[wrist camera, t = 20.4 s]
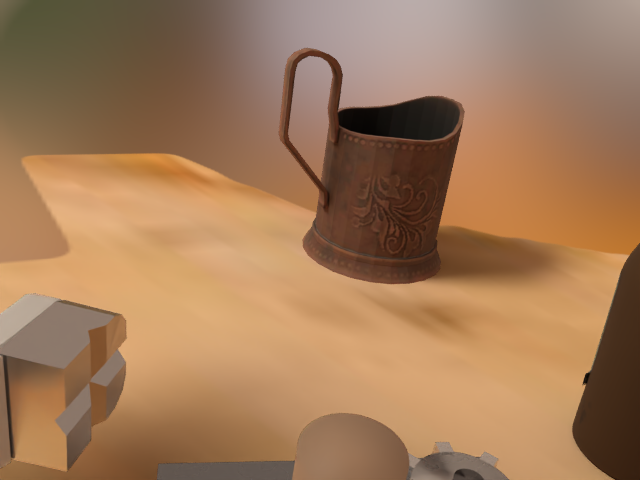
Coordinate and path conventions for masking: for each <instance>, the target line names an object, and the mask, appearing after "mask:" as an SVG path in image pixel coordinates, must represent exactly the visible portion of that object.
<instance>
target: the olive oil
mask: <svg viewBox="0 0 640 480" xmlns="http://www.w3.org/2000/svg"><path fill="white" fill-rule="evenodd" d="M584 383H585V384H586V387H585V390H584V393H583V396H582V399H581V402H580V404H579V407H578V410H577V413H576V416H575V419H574V423H573V428H572V431H573V436H574V439H575V441H576V443H577V445H578V447H579V448H580V450H581V451H582V452H583V454H584V455H585V456H586V457H587V458H588V459H589V460H590V461H591V462H592V463H593V464H594V465H596V466H597V467H598V468H599V469H601V470H602V471H603V472H605V473H606V474H608V475H610V476H611V477H613V478H615V479H617V480H640V243H639V245H638V246H637V247H636V248H635V249H634V251H633V252H632V253H631V254H630V256H629V257H628V259H627V260H626V262H625V264H624V266H623V269H622V270H621V273H620V277H619V280H618V283H617V287H616V290H615V293H614V297H613V300H612V303H611V307H610V310H609V313H608V316H607V320H606V323H605V326H604V329H603V333H602V336H601V339H600V342H599V345H598V349H597V352H596V355H595V358H594V361H593V365H592V368H591V371H589V372H588V373H586V375H585V378H584V381H583V385H585V384H584Z"/></svg>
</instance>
